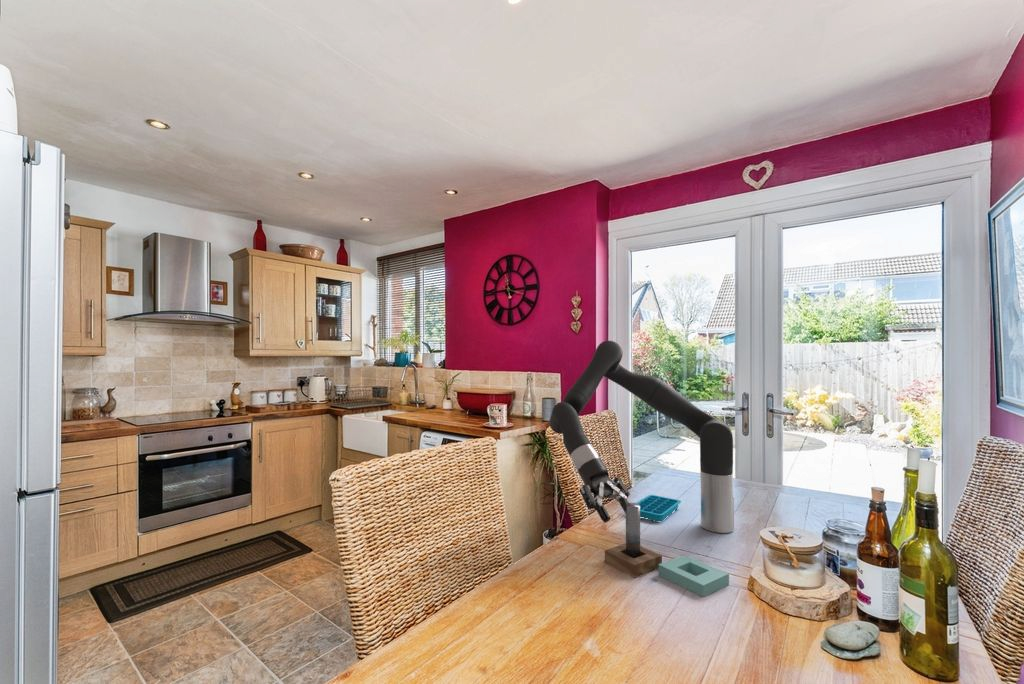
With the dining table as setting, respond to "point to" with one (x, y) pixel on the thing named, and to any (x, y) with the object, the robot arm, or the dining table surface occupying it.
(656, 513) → the ice cube tray
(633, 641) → the dining table surface
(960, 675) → the dining table surface
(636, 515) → the rod
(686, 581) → the teal square hole base
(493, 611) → the dining table surface
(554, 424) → the robot arm
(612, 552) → the socket block
